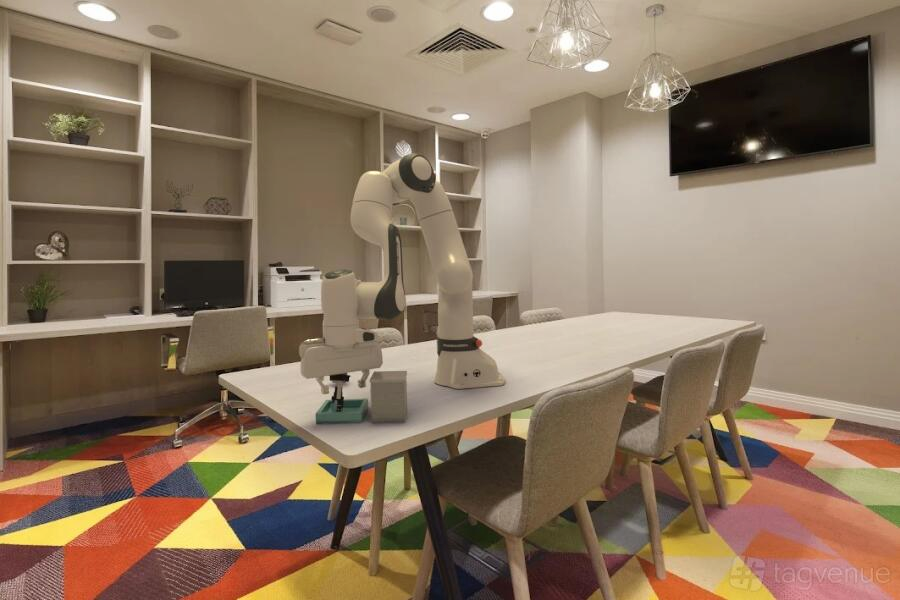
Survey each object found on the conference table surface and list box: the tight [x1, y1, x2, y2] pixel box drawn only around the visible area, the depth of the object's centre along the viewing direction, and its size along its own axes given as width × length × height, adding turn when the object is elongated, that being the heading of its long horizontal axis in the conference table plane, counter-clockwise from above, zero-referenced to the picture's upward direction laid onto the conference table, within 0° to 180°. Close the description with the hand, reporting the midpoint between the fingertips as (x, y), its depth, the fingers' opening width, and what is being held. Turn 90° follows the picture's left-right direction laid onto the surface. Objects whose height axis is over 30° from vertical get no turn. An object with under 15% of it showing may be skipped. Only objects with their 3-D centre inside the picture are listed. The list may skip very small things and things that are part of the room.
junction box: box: [369, 370, 408, 424], centre depth 116 cm, size 9×8×11 cm
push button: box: [329, 373, 351, 412], centre depth 118 cm, size 7×5×10 cm
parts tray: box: [314, 398, 369, 425], centre depth 118 cm, size 11×11×2 cm
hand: (344, 390), depth 118 cm, fingers open, 8 cm apart
